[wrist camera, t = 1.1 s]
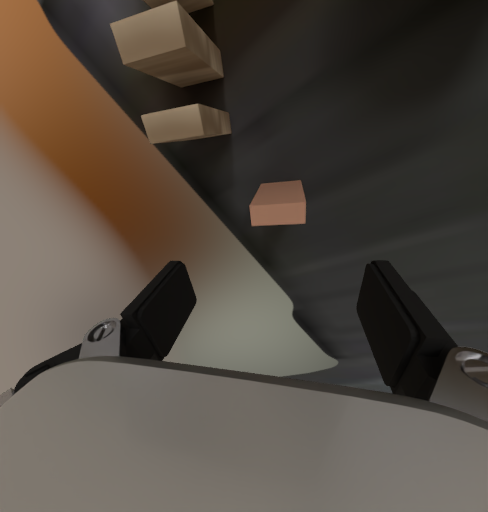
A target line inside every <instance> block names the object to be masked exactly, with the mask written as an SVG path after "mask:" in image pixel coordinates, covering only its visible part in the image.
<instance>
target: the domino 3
mask: <svg viewBox="0 0 488 512" xmlns="http://www.w3.org/2000/svg"><path fill="white" fill-rule="evenodd" d="M249 207H250V215H251V224H252V226H263V225H286V224H305V217H306V200H305V195H304V191H303V187H302V183H301V180H296V181H286V182H275V183H264V184H261V185H260V187H259V189H258V191H257V193H256V194H255V196H254V198H253V200H252V202H251V204H250V206H249Z"/></svg>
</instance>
